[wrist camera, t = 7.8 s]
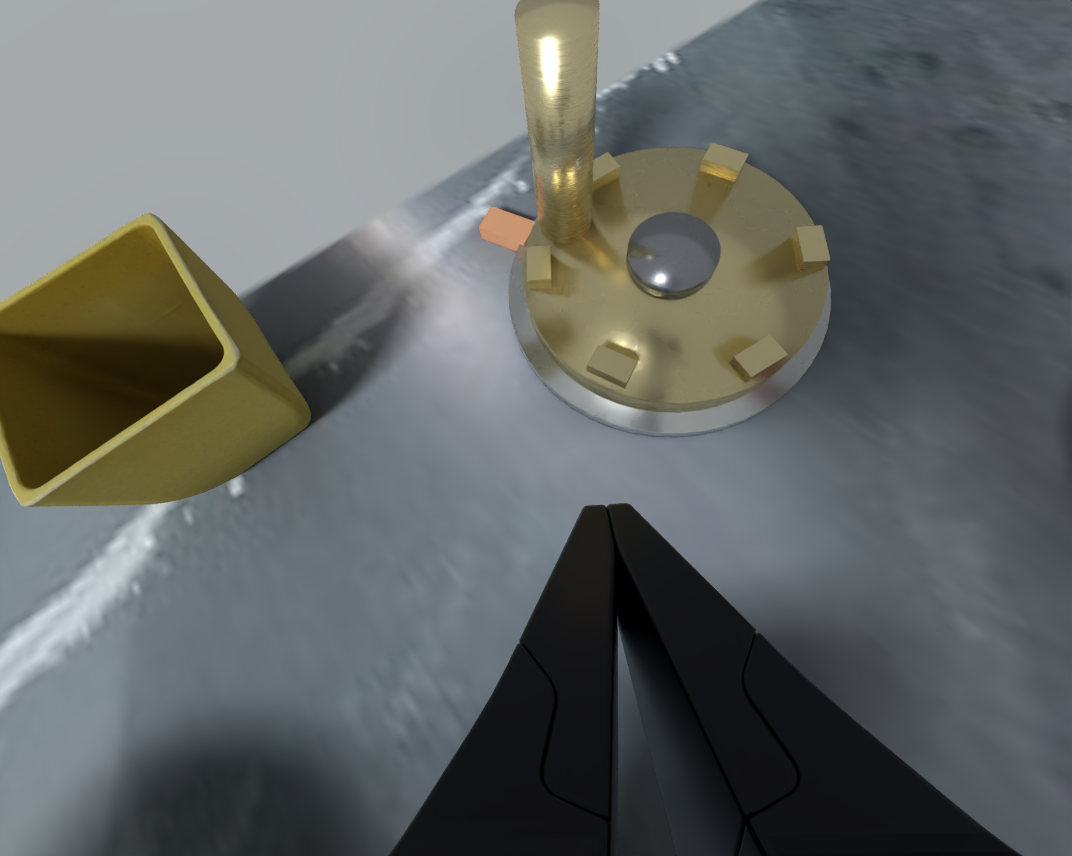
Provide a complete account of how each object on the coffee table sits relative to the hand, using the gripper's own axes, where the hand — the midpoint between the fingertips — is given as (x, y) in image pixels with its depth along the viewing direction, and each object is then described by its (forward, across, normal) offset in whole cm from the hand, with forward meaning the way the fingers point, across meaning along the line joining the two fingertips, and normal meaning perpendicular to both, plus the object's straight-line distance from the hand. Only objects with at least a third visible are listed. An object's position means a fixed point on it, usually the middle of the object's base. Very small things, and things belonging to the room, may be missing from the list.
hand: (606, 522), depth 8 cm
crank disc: (+19, -5, 0) cm, 20 cm away
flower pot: (+15, +18, +4) cm, 24 cm away
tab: (+23, +3, -3) cm, 23 cm away
